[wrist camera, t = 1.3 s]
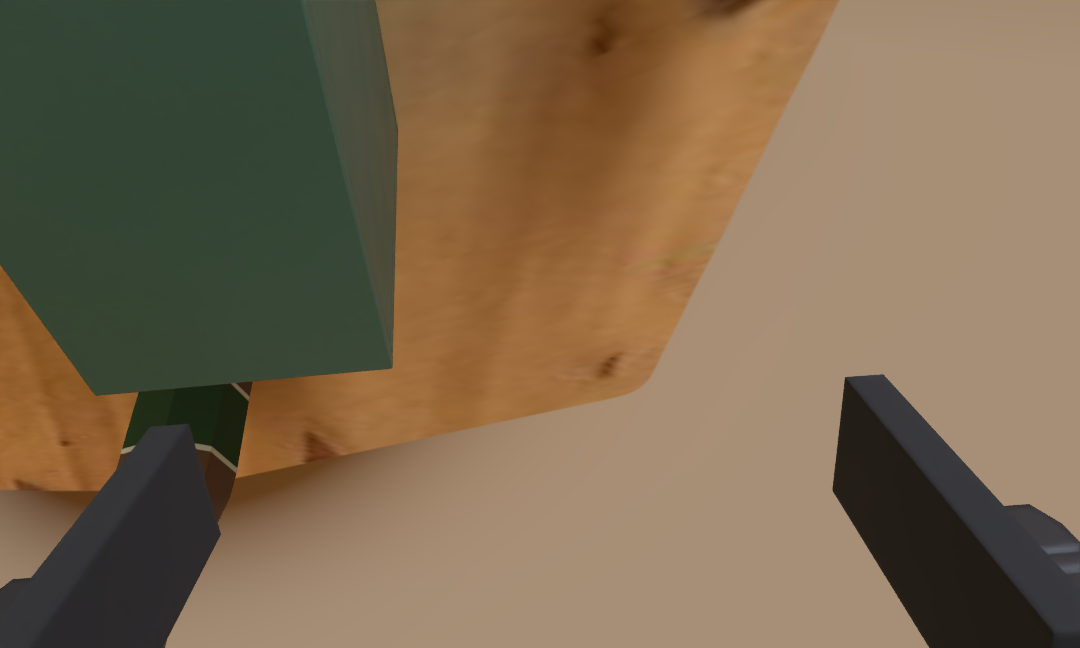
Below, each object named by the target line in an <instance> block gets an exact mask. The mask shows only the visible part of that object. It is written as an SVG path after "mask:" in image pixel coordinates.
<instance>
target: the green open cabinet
mask: <svg viewBox="0 0 1080 648" xmlns="http://www.w3.org/2000/svg"><path fill="white" fill-rule="evenodd" d="M397 150H398V128H397V122H396V116H395V110H394V105H393V99H392V93H391V88H390V82H389V76H388V70H387V65H386V59H385V53H384V48H383V42H382V36H381V30H380V25H379V19H378V13H377V7H376V2H375V0H0V265H1V266H2V268H3V269H4V271H5V272H6V273H7V275H8V276H9V277H10V279H11V280H12V282H13V283H14V284H15V286H16V287H17V288H18V290H19V291H20V293H21V294H22V295H23V297H24V298H25V299H26V301H27V302H28V304H29V305H30V306H31V308H32V309H33V310H34V312H35V313H36V315H37V316H38V317H39V319H40V320H41V321H42V323H43V324H44V326H45V327H46V328H47V330H48V331H49V332H50V334H51V335H52V337H53V338H54V339H55V341H56V342H57V343H58V345H59V346H60V348H61V349H62V350H63V352H64V353H65V354H66V356H67V357H68V359H69V360H70V361H71V363H72V364H73V365H74V367H75V368H76V370H77V371H78V372H79V374H80V375H81V376H82V378H83V379H84V381H85V382H86V383H87V385H88V386H89V387H90V389H91V390H92V392H93V393H94V394H95V395H96V396H99V395H110V394H120V393H131V392H142V391H153V390H164V389H175V388H186V387H196V386H207V385H218V384H229V383H240V382H251V381H262V380H273V379H283V378H294V377H305V376H316V375H327V374H338V373H349V372H359V371H370V370H381V369H391V368H392V367H393V325H394V281H395V237H396V193H397Z"/></svg>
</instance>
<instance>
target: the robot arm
mask: <svg viewBox="0 0 1080 648" xmlns="http://www.w3.org/2000/svg"><path fill="white" fill-rule="evenodd" d="M833 492H834V494H835V495H836V497H837V498H838V500H839V502H840V503H841V505H842V507H843V508H844V510H845V512H846V513H847V515H848V516H849V518H850V520H851V521H852V523H853V524H854V526H855V528H856V529H857V531H858V533H859V534H860V536H861V537H862V539H863V541H864V542H865V544H866V546H867V547H868V549H869V551H870V552H871V554H872V555H873V557H874V559H875V560H876V562H877V563H878V565H879V567H880V568H881V570H882V572H883V573H884V575H885V576H886V578H887V580H888V581H889V583H890V585H891V586H892V588H893V589H894V591H895V593H896V594H897V596H898V598H899V599H900V601H901V602H902V604H903V606H904V607H905V609H906V610H907V612H908V614H909V615H910V617H911V618H912V620H913V622H914V624H915V625H916V627H917V628H918V630H919V632H920V633H921V635H922V637H923V638H924V640H925V641H926V643H927V645H928V646H929V648H1080V542H1079V541H1078V540H1077V539H1076V538H1075V537H1074V536H1073V535H1072V534H1071V533H1070V531H1068V529H1067V528H1066V527H1065V526H1064V525H1063V524H1062V523H1060V522H1058V521H1056V520H1055V519H1053V518H1051V517H1050V516H1048V515H1046V514H1045V513H1043V512H1041V511H1040V510H1038V509H1036V508H1035V507H1033V506H1031V505H1030V504H1026V505H1013V506H1003V505H1002V503H1001V502H1000V501H999V500H998V499H997V498H996V497H995V496H994V495H993V494H992V493H991V491H990V490H989V489H988V488H987V487H986V486H985V485H984V484H983V483H982V482H981V481H980V479H979V478H978V477H977V476H976V475H975V474H974V473H973V472H972V471H971V470H970V469H969V468H968V466H967V465H966V464H965V463H964V462H963V461H962V460H961V459H960V458H959V457H958V456H957V455H956V453H955V452H954V451H953V450H952V449H951V448H950V447H949V446H948V445H947V443H945V441H944V440H943V439H942V438H941V437H940V436H939V435H938V434H937V433H936V431H935V430H934V429H933V428H932V427H931V426H930V425H929V424H928V423H927V422H926V421H925V419H924V418H923V417H922V416H921V415H920V414H919V413H918V412H917V411H916V410H915V409H914V408H913V407H912V405H911V404H910V403H909V402H908V401H907V400H906V399H905V398H904V397H903V396H902V394H901V393H900V392H899V391H898V390H897V389H896V388H895V387H894V386H893V385H892V383H891V382H890V381H889V380H888V379H887V378H886V377H885V376H884V375H869V376H855V377H845V383H844V392H843V401H842V410H841V419H840V428H839V437H838V447H837V455H836V464H835V473H834V481H833ZM220 535H221V533H220V530H219V526H218V523H217V519H216V516H215V512H214V509H213V505H212V502H211V498H210V495H209V492H208V488H207V485H206V481H205V478H204V474H203V471H202V467H201V464H200V460H199V457H198V453H197V450H196V447H195V443H194V440H193V436H192V433H191V429H190V426H189V424H180V425H166V426H152V427H150V428H149V429H148V430H147V432H146V433H145V434H144V435H143V437H142V438H141V439H140V441H139V442H138V443H137V444H136V446H135V447H134V448H133V449H132V451H131V452H130V453H129V454H128V456H127V457H126V458H125V460H124V461H123V462H122V463H121V465H120V466H119V467H118V468H117V470H116V471H115V472H114V474H113V475H112V476H111V477H110V479H109V480H108V481H107V482H106V484H105V485H104V486H103V487H102V489H101V490H100V491H99V493H98V494H97V495H96V497H95V498H94V499H93V500H92V501H91V503H90V504H89V505H88V507H87V508H86V509H85V510H84V512H83V513H82V514H81V516H80V517H79V518H78V519H77V521H76V522H75V523H74V524H73V526H72V527H71V528H70V529H69V531H68V532H67V533H66V534H65V536H64V537H63V538H62V539H61V541H60V542H59V543H58V545H57V546H56V547H55V548H54V550H53V551H52V552H51V553H50V555H49V556H48V557H47V559H46V560H45V561H44V562H43V564H42V565H41V566H40V567H39V569H38V570H37V571H36V573H35V574H34V575H33V576H32V578H26V579H25V578H24V579H13V580H11V581H10V582H9V583H8V584H6V585H5V586H4V587H2V588H1V589H0V648H163V646H164V644H165V642H166V640H167V638H168V636H169V634H170V632H171V630H172V628H173V626H174V624H175V622H176V621H177V619H178V617H179V615H180V613H181V611H182V609H183V607H184V605H185V603H186V601H187V599H188V597H189V595H190V593H191V591H192V589H193V587H194V585H195V584H196V582H197V580H198V578H199V576H200V574H201V572H202V570H203V568H204V566H205V564H206V562H207V560H208V558H209V556H210V554H211V552H212V551H213V549H214V547H215V545H216V543H217V541H218V539H219V537H220Z"/></svg>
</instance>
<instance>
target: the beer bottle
mask: <svg viewBox="0 0 1080 648" xmlns="http://www.w3.org/2000/svg"><path fill="white" fill-rule="evenodd" d="M251 386H252V381H251V382H240V383H229V384H218V385H207V386H196V387H186V388H175V389H164V390H153V391H142V392H139V393H138V397H137V400H136V404H135V407H134V410H133V414H132V417H131V421H130V424H129V428H128V431H127V434H126V438H125V441H124V445H123V448H122V452H121V455H120V459H119V462H118V466H117V468H118V467H119V466H120V465H121V463H122V462H123V461H124V460H125V458H126V457H127V456H128V454H129V453H130V452H131V451H132V449H133V448H134V447H135V446H136V444H137V443H138V442H139V441H140V439H141V438H142V437H143V435H144V434H145V433H146V432H147V430H148V429H149V428H150V427H152V426H166V425H180V424H189V426H190V429H191V433H192V436H193V440H194V443H195V447H196V450H197V453H198V457H199V460H200V464H201V467H202V471H203V474H204V478H205V481H206V485H207V488H208V492H209V495H210V498H211V502H212V505H213V509H214V512H215V516H216V519H217V522H218V521H219V519H220V517H221V515H222V513H223V511H224V509H225V507H226V505H227V502H228V500H229V498H230V495H231V491H232V488H233V484H234V480H235V477H236V473H237V467H238V461H239V455H240V449H241V444H242V438H243V432H244V426H245V421H246V415H247V409H248V403H249V398H250V392H251ZM116 470H117V469H116ZM166 641H167V640H166ZM165 645H166V642H165V644H164V646H163V648H165Z"/></svg>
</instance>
